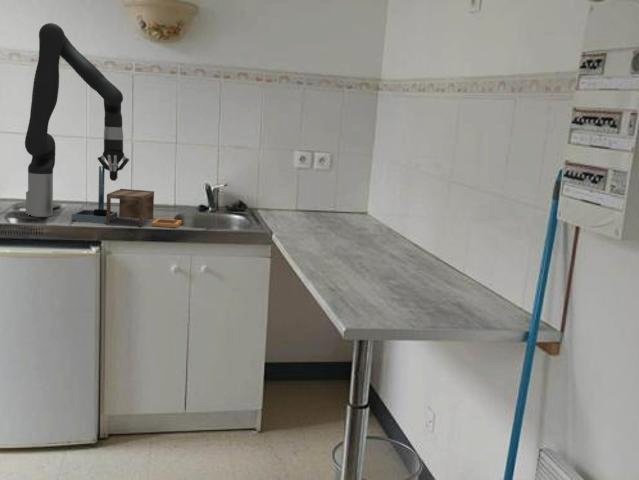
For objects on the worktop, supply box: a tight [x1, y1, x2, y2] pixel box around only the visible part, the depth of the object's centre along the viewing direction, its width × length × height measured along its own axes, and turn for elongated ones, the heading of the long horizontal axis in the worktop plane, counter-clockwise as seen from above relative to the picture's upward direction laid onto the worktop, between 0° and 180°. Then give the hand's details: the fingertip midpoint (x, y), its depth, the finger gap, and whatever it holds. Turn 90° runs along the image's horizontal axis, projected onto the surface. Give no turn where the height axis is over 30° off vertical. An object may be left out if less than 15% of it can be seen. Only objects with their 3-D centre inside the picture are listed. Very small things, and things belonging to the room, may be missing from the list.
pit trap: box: [151, 218, 183, 229], centre depth 273 cm, size 10×11×2 cm
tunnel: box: [105, 188, 155, 228], centre depth 272 cm, size 14×20×12 cm
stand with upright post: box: [71, 165, 118, 224], centre depth 271 cm, size 14×16×21 cm
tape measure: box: [93, 208, 113, 216], centre depth 274 cm, size 7×7×4 cm
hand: (113, 180), depth 277 cm, fingers closed
